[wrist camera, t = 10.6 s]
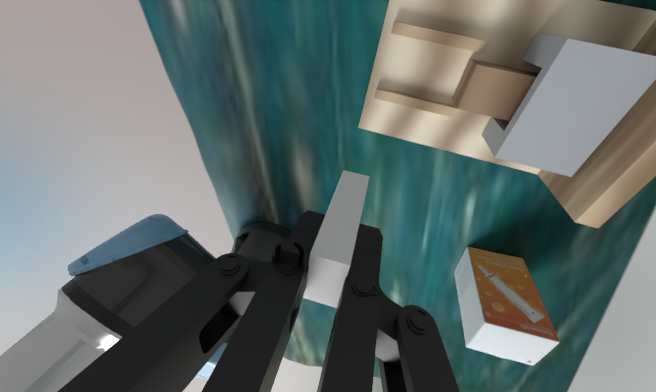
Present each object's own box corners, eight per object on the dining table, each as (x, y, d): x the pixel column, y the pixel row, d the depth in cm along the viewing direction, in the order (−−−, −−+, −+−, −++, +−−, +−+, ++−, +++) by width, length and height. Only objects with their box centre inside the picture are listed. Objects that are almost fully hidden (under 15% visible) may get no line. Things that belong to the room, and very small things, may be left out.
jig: (359, 124, 35) (343, 158, 26) (399, -35, 25) (392, -58, 17) (550, 173, 32) (598, 228, 24) (676, 16, 22) (826, 18, 14)
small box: (523, 256, 39) (563, 343, 29) (504, 282, 43) (533, 367, 33) (466, 244, 41) (484, 323, 31) (452, 271, 45) (465, 348, 34)
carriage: (481, 134, 30) (494, 157, 25) (537, 33, 24) (567, 38, 19) (545, 150, 29) (571, 177, 24) (619, 50, 23) (672, 59, 19)
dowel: (452, 98, 29) (457, 108, 26) (469, 58, 27) (477, 64, 23) (546, 120, 28) (564, 134, 25) (573, 81, 26) (597, 90, 22)
